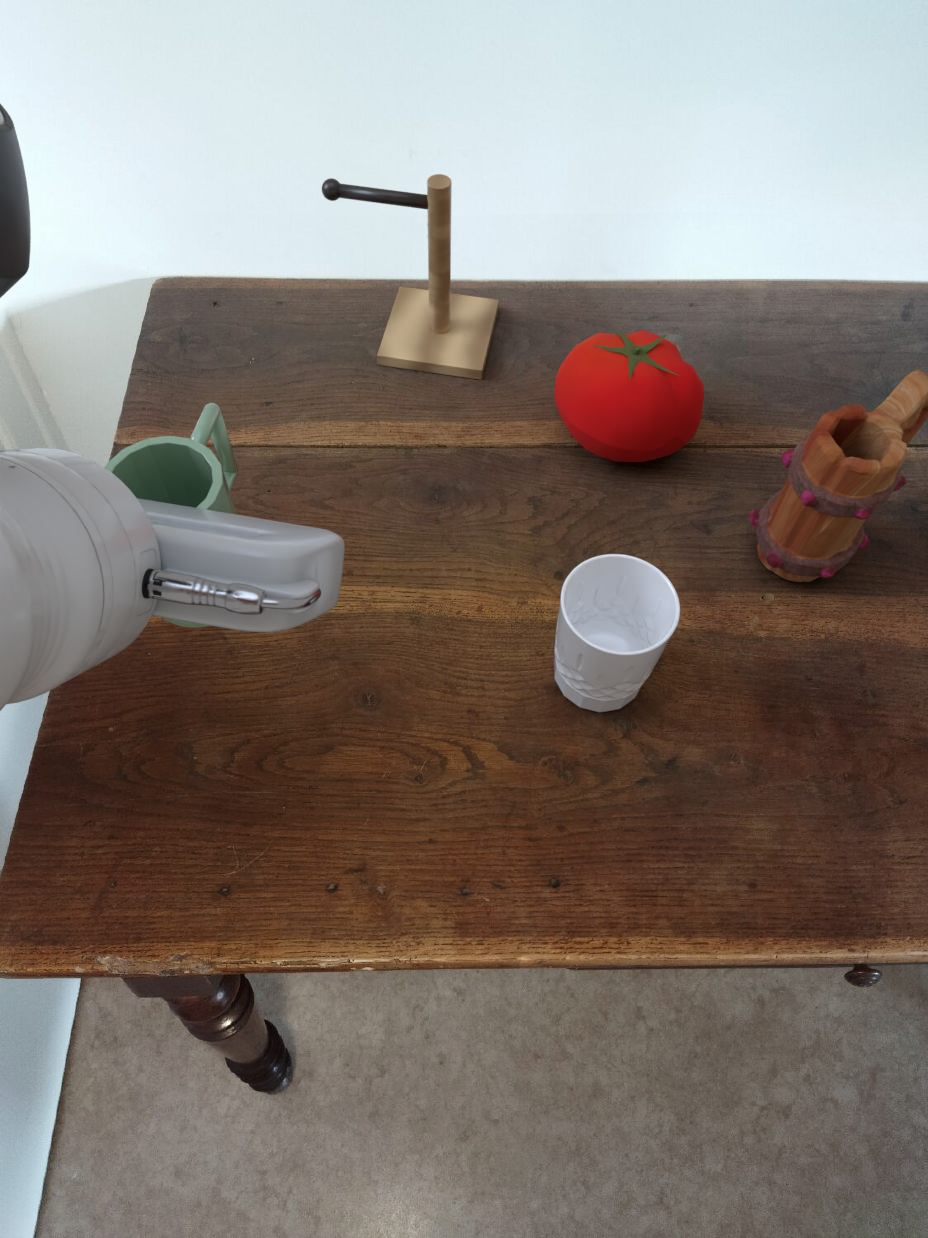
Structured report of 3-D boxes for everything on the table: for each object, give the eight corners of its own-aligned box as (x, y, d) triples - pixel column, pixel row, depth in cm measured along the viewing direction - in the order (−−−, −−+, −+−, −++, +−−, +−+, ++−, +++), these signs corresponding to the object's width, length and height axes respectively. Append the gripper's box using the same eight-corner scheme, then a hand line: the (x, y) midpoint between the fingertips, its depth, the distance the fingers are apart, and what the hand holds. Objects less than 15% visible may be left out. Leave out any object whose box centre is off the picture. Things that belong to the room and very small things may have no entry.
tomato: (673, 502, 76) (703, 417, 67) (532, 461, 78) (544, 373, 69) (701, 413, 81) (732, 324, 72) (569, 377, 83) (584, 285, 74)
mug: (797, 617, 70) (878, 496, 57) (718, 553, 73) (778, 424, 60) (904, 521, 75) (1000, 391, 62) (826, 465, 78) (902, 330, 65)
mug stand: (498, 309, 88) (509, 153, 74) (481, 380, 83) (489, 226, 69) (351, 288, 89) (334, 131, 75) (325, 357, 84) (302, 201, 70)
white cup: (544, 626, 69) (559, 551, 60) (645, 629, 69) (674, 555, 60) (546, 718, 65) (562, 652, 56) (653, 722, 65) (685, 656, 56)
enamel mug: (235, 636, 49) (198, 540, 41) (132, 618, 50) (76, 519, 42) (287, 497, 54) (262, 389, 47) (193, 482, 55) (153, 372, 47)
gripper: (306, 529, 32) (382, 494, 45) (-216, 442, 34) (6, 434, 47) (289, 692, 34) (367, 612, 47) (-210, 602, 35) (3, 550, 48)
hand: (183, 522), depth 47 cm, fingers closed on enamel mug, 6 cm apart
